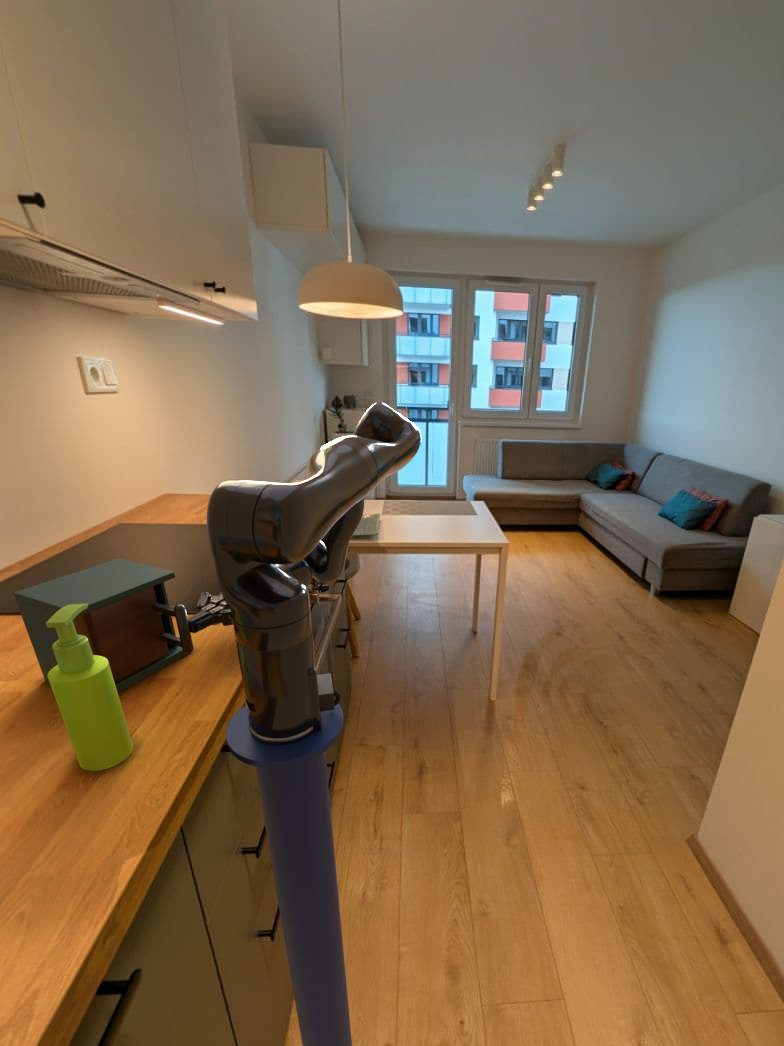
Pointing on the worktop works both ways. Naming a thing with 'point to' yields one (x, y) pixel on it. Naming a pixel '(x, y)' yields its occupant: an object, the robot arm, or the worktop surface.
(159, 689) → the worktop surface
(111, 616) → the sliding door
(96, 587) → the cabinet
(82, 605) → the soap dispenser
